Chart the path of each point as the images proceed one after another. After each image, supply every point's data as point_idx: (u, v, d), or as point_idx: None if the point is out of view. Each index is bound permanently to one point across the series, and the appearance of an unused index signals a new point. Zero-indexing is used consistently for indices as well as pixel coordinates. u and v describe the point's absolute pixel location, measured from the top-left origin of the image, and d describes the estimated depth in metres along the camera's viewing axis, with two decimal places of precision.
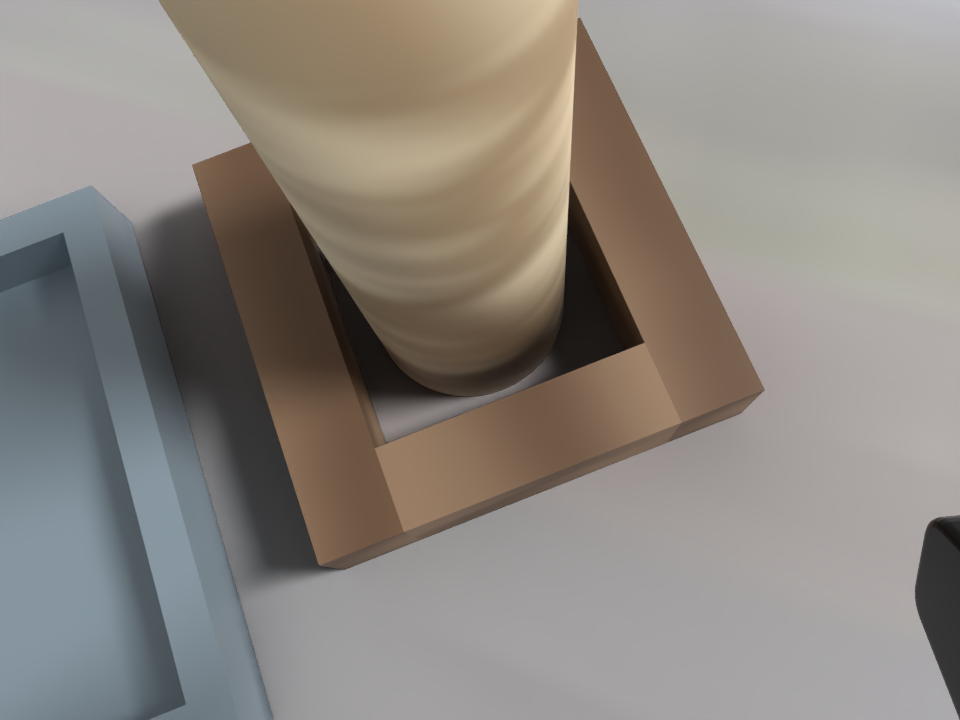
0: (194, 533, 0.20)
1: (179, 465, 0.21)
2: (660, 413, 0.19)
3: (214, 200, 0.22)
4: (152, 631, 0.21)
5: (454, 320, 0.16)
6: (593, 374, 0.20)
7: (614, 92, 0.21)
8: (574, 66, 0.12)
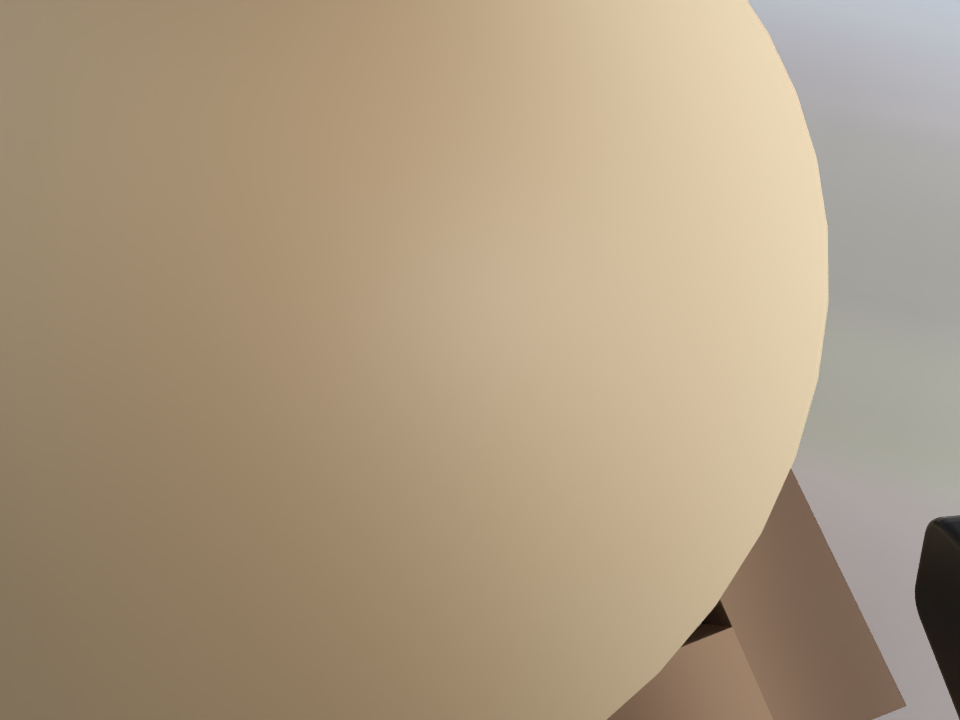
0: None
1: None
2: None
3: None
4: None
5: None
6: (660, 673, 0.14)
7: None
8: None
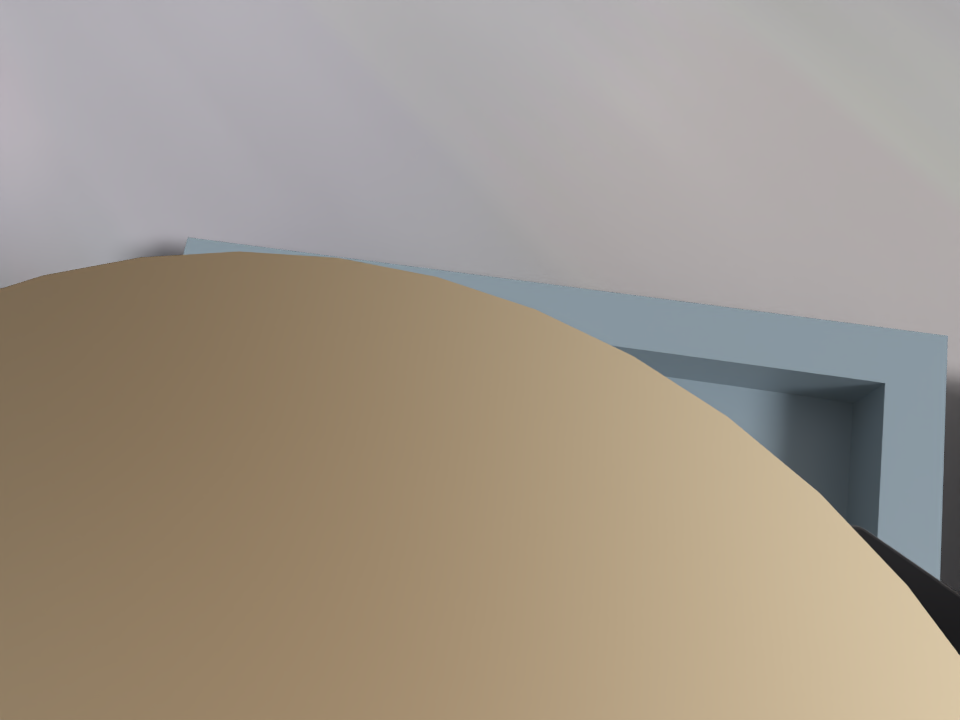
0: None
1: None
2: None
3: None
4: None
5: None
6: None
7: None
8: None
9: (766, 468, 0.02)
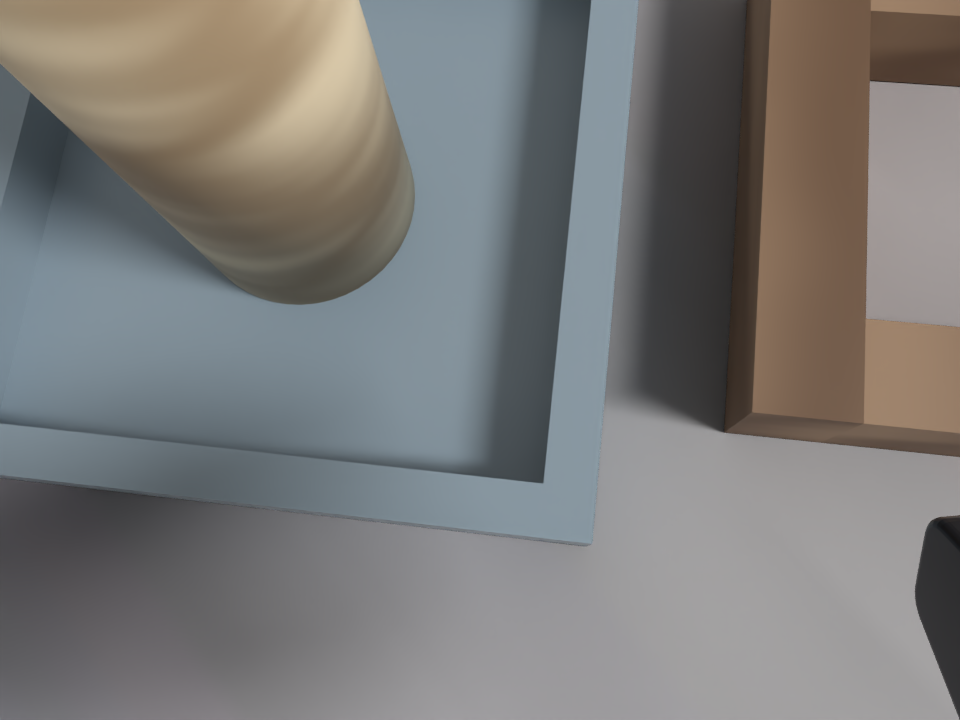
0: None
1: None
2: None
3: None
4: (504, 393, 0.18)
5: (217, 179, 0.13)
6: None
7: None
8: None
9: None
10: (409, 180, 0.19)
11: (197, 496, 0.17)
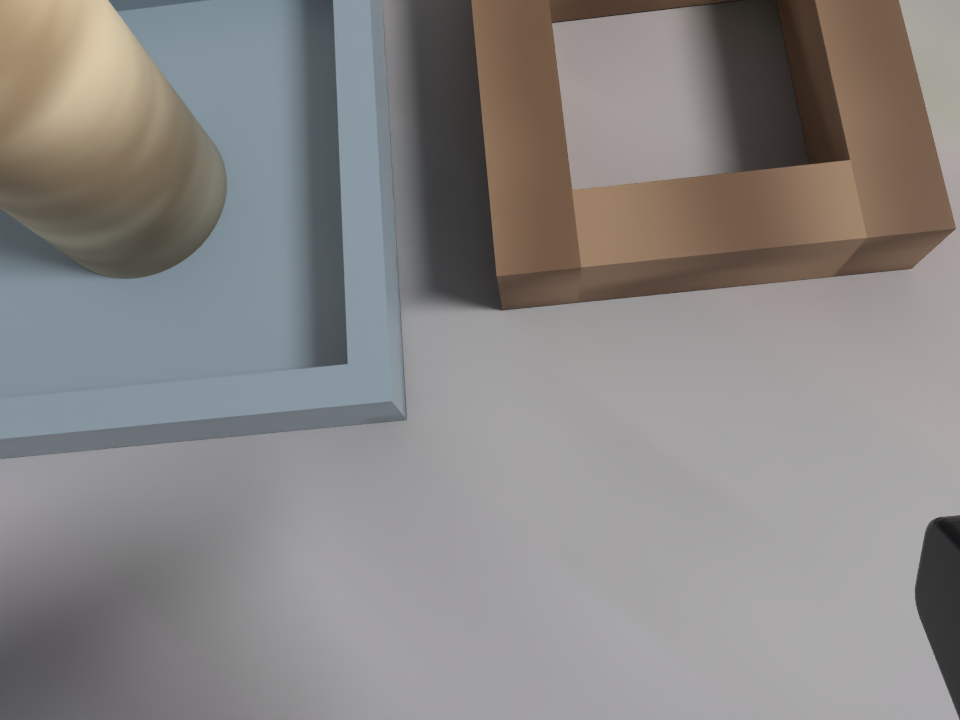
0: (385, 229, 0.22)
1: (383, 172, 0.22)
2: (849, 224, 0.20)
3: None
4: (320, 312, 0.22)
5: (26, 159, 0.17)
6: (793, 176, 0.20)
7: None
8: None
9: None
10: (214, 159, 0.23)
11: (76, 430, 0.20)
